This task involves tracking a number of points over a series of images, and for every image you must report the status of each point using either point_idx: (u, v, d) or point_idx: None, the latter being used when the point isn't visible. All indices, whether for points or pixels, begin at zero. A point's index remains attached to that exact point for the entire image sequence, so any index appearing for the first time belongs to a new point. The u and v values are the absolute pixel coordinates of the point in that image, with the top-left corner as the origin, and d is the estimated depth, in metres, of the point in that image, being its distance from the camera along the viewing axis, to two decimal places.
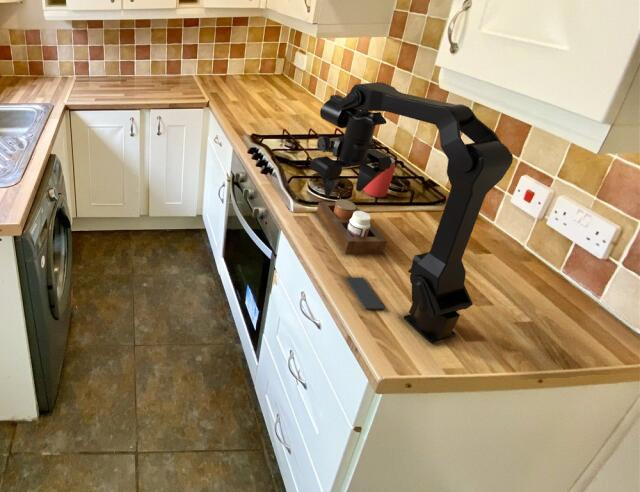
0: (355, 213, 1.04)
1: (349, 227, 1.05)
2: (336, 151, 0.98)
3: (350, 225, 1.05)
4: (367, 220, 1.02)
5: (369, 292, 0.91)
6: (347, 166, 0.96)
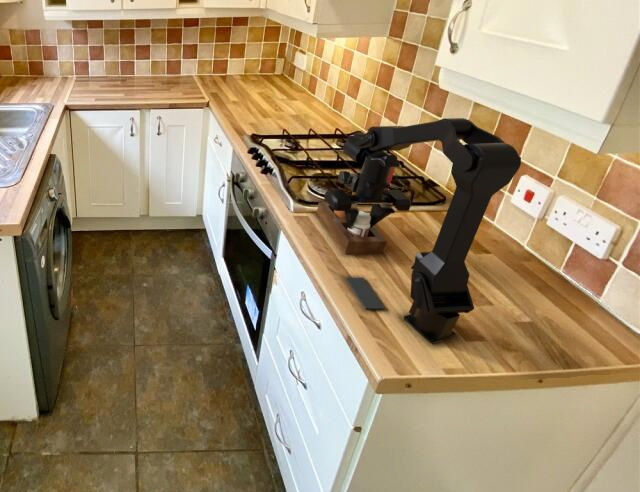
0: None
1: None
2: (353, 186, 1.03)
3: None
4: (367, 220, 1.02)
5: (369, 292, 0.91)
6: None
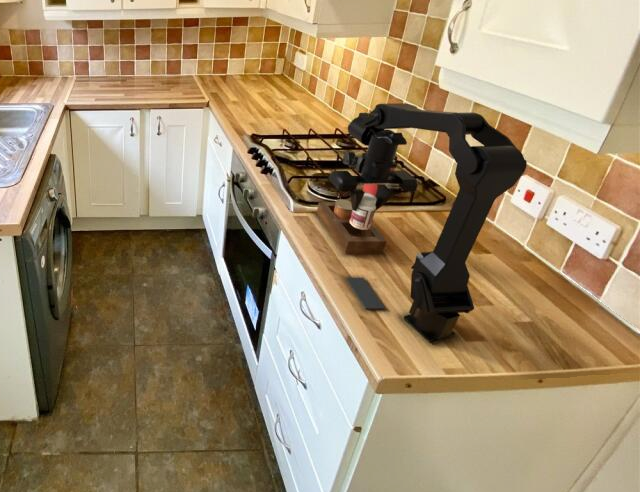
0: None
1: None
2: (358, 167, 1.00)
3: None
4: (373, 201, 1.00)
5: (369, 292, 0.91)
6: (374, 182, 0.98)
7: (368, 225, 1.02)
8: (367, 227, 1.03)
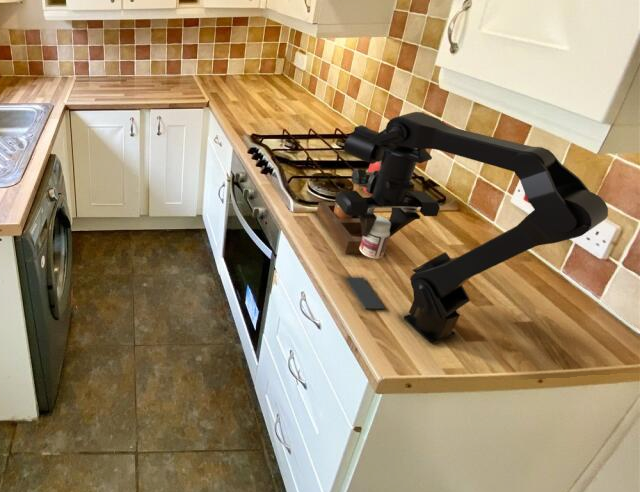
0: None
1: None
2: (369, 187, 0.87)
3: None
4: (386, 227, 0.86)
5: (369, 292, 0.91)
6: (388, 205, 0.84)
7: (380, 253, 0.89)
8: (380, 256, 0.89)
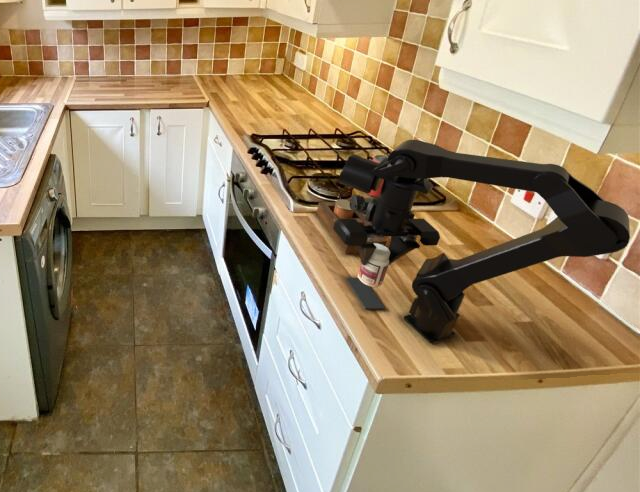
0: None
1: None
2: (368, 215, 0.85)
3: None
4: (386, 256, 0.84)
5: (369, 292, 0.91)
6: None
7: (379, 281, 0.87)
8: (379, 284, 0.87)
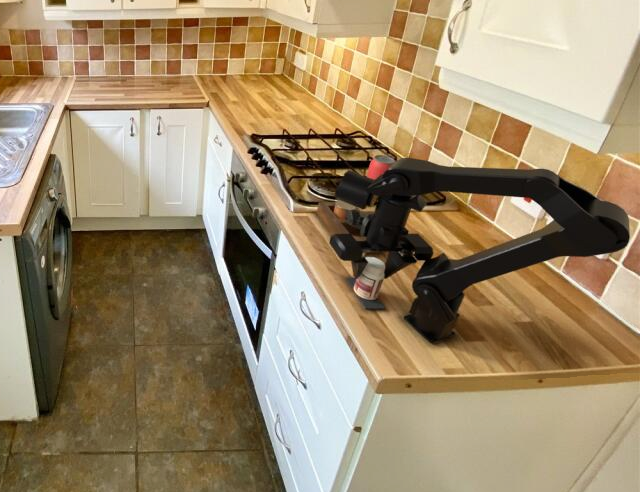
0: (367, 260, 0.88)
1: None
2: (363, 230, 0.86)
3: None
4: (381, 270, 0.86)
5: None
6: None
7: (375, 295, 0.88)
8: (374, 297, 0.89)
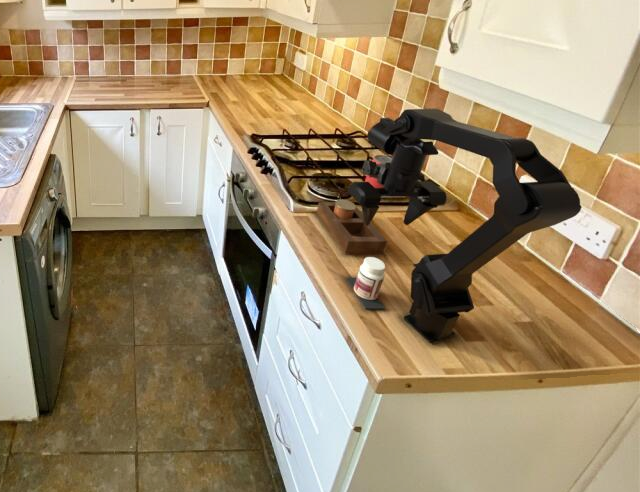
0: (367, 260, 0.88)
1: (359, 276, 0.89)
2: (380, 178, 0.91)
3: (360, 274, 0.89)
4: (381, 270, 0.86)
5: None
6: (390, 195, 0.89)
7: (375, 295, 0.88)
8: (374, 297, 0.89)
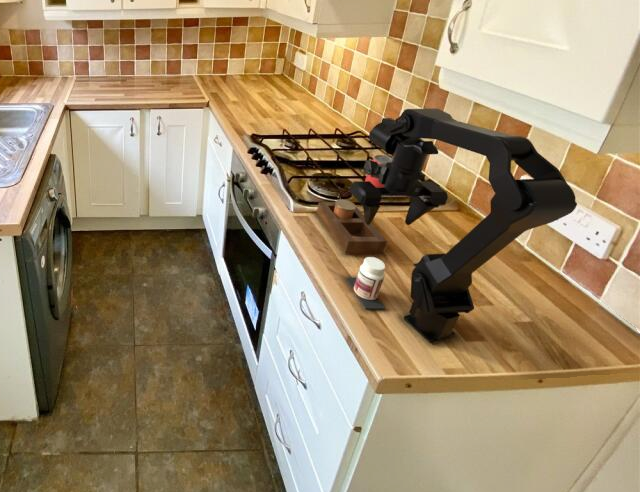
0: (367, 260, 0.88)
1: (359, 276, 0.89)
2: (382, 177, 0.92)
3: (360, 274, 0.89)
4: (381, 270, 0.86)
5: None
6: (391, 195, 0.89)
7: (375, 295, 0.88)
8: (374, 297, 0.89)
